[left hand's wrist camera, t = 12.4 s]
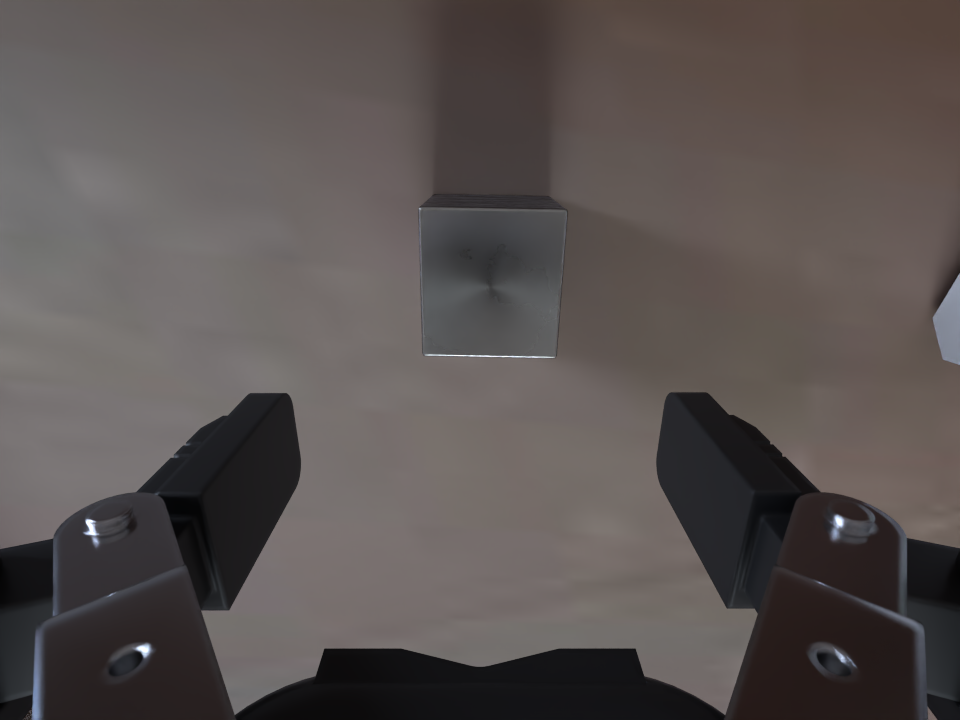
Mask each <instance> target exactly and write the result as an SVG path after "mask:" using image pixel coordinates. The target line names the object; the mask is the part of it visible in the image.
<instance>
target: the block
mask: <svg viewBox="0 0 960 720" xmlns="http://www.w3.org/2000/svg"><path fill="white" fill-rule="evenodd" d="M418 213H419V250H420V286H421V323H422V353H423V355H424V356H452V357H505V358H556V356H557V346H558V333H559V320H560V307H561V294H562V281H563V268H564V255H565V242H566V229H567V216H568V211H567V209H565V208H564V207H563V206H561V205H560V204H559V203H558V202H556V201H555V200H554V199H552V198H551V197H549V196H515V195H459V194H434V195H432V196H431V197H430V198H429V199H428V200H427V201H426V202H424V203H423V204H422V205H421V206H420V207H419V209H418Z"/></svg>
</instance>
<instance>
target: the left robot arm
mask: <svg viewBox="0 0 960 720" xmlns="http://www.w3.org/2000/svg"><path fill="white" fill-rule="evenodd" d="M656 465H657V475H658V479H659V483H660V485H661V487H662V489H663V491H664V493H665V495H666V497H667V499H668V500H669V502H670V504H671V506H672V508H673V510H674V511H675V513H676V515H677V517H678V519H679V521H680V523H681V524H682V526H683V528H684V530H685V532H686V534H687V536H688V537H689V539H690V541H691V543H692V545H693V547H694V548H695V550H696V552H697V554H698V556H699V558H700V560H701V561H702V563H703V565H704V567H705V569H706V571H707V573H708V574H709V576H710V578H711V580H712V582H713V584H714V585H715V587H716V589H717V591H718V593H719V595H720V597H721V598H722V600H723V602H724V604H725V606H726V608H755V610H756V611H757V613H758V615H757V619H756V622H755V625H754V628H753V631H752V634H751V637H750V640H749V643H748V647H747V650H746V653H745V656H744V659H743V662H742V665H741V668H740V672H739V675H738V678H737V681H736V684H735V687H734V690H733V693H732V696H731V700H730V703H729V706H728V709H727V712H726V715H724V714H723V713H721V712H720V711H718V710H717V709H716V708H714V707H713V706H711V705H709V704H708V703H706V702H704V701H702V700H701V699H699V698H697V697H696V696H694V695H692V694H690V693H688V692H685V691H683V690H681V689H679V688H677V687H675V686H672V685H670V684H667V683H664V682H661V681H658V680H656V679H652V678H648V677H645V676H644V674H643V671H642V668H641V665H640V661H639V658H638V655H637V652H636V649H556V650H552V651H548V652H544V653H540V654H535V655H531V656H527V657H523V658H519V659H515V660H511V661H507V662H503V663H499V664H495V665H491V666H486V667H474V666H469V665H465V664H461V663H457V662H453V661H449V660H445V659H441V658H437V657H433V656H429V655H425V654H420V653H416V652H412V651H408V650H404V649H324V652H323V655H322V658H321V661H320V665H319V668H318V671H317V674H316V676H315V677H312V678H308V679H304V680H302V681H299V682H296V683H293V684H290V685H288V686H285V687H283V688H281V689H279V690H277V691H275V692H272V693H270V694H268V695H266V696H264V697H263V698H261V699H259V700H258V701H256V702H254V703H252V704H251V705H249V706H247V707H246V708H244V709H243V710H242V711H240V712H239V713H237V714H236V715H234V712H233V709H232V706H231V703H230V700H229V697H228V693H227V690H226V687H225V684H224V681H223V678H222V675H221V672H220V668H219V665H218V662H217V659H216V656H215V653H214V650H213V647H212V644H211V640H210V637H209V634H208V631H207V628H206V625H205V622H204V619H203V615H202V612H201V610H229V609H230V608H231V606H232V604H233V602H234V600H235V598H236V597H237V595H238V593H239V591H240V589H241V588H242V586H243V584H244V582H245V580H246V578H247V577H248V575H249V573H250V571H251V569H252V567H253V566H254V564H255V562H256V560H257V558H258V556H259V555H260V553H261V551H262V549H263V547H264V545H265V544H266V542H267V540H268V538H269V536H270V535H271V533H272V531H273V529H274V527H275V525H276V524H277V522H278V520H279V518H280V516H281V514H282V513H283V511H284V509H285V507H286V505H287V503H288V502H289V500H290V498H291V496H292V494H293V492H294V491H295V489H296V487H297V484H298V481H299V477H300V471H301V457H300V450H299V443H298V437H297V430H296V423H295V417H294V410H293V404H292V400H291V398H290V396H289V395H288V394H287V393H250V394H248V395H247V396H246V397H245V398H244V399H243V400H242V401H241V402H240V403H239V405H238V406H237V407H236V408H235V409H234V410H233V411H232V412H231V413H230V414H229V415H228V416H222V417H220V418H218V419H217V420H215V421H213V422H211V423H209V424H207V425H206V426H204V427H202V428H200V429H199V430H198V431H197V432H196V433H195V434H194V435H193V436H192V437H191V438H190V439H189V440H188V441H187V442H186V446H182V447H181V448H180V449H179V450H178V451H177V452H176V453H175V454H174V458H170V459H169V460H168V461H167V462H166V463H165V464H164V465H163V466H162V467H161V468H160V469H159V470H158V471H157V472H156V473H155V474H154V475H153V476H152V477H151V478H150V479H149V480H148V481H147V482H146V483H145V484H144V485H143V486H142V487H141V488H140V489H139V490H138V491H137V492H134V493H126V494H121V495H116V496H113V497H109V498H106V499H103V500H100V501H98V502H95V503H93V504H91V505H89V506H87V507H85V508H83V509H81V510H79V511H78V512H76V513H74V514H73V515H72V516H70V517H69V518H68V519H66V520H65V521H64V522H63V523H62V524H61V525H60V527H59V528H58V529H57V530H56V532H55V534H54V538H53V539H50V540H45V541H40V542H34V543H29V544H24V545H19V546H14V547H9V548H4V549H0V720H23V718H24V717H25V715H26V714H27V713H28V711H29V710H30V709H31V707H32V706H33V709H32V720H928V709H927V706H928V707H929V709H930V710H931V711H932V713H933V714H934V716H935V717H936V718H937V720H960V548H955V547H950V546H945V545H940V544H934V543H929V542H924V541H919V540H914V539H909V538H906V534H905V532H904V530H903V529H902V528H901V527H900V525H899V524H898V523H897V522H896V521H895V520H894V519H892V518H891V517H890V516H888V515H887V514H886V513H884V512H882V511H881V510H879V509H877V508H875V507H873V506H871V505H869V504H867V503H865V502H862V501H860V500H857V499H854V498H851V497H847V496H844V495H839V494H834V493H826V492H820V491H819V490H818V489H817V488H816V487H815V486H814V485H813V484H812V483H811V482H810V481H809V480H808V479H807V478H806V477H805V476H804V475H803V474H802V473H801V472H800V471H799V470H798V469H797V468H796V467H795V466H794V465H793V464H792V463H791V462H790V461H789V460H788V459H787V458H786V457H782V453H781V452H780V451H779V450H778V449H777V448H776V447H775V446H774V445H773V444H770V441H769V440H768V439H767V438H766V437H765V436H764V435H763V434H762V433H761V432H760V431H759V430H758V429H757V428H756V427H754V426H753V425H751V424H749V423H747V422H745V421H744V420H742V419H740V418H738V417H736V416H734V415H728V414H727V412H726V411H725V410H724V409H723V408H722V407H721V406H720V405H719V404H718V403H717V402H716V401H715V400H714V399H713V398H712V397H711V396H710V395H709V394H708V393H706V392H671V393H669V394H668V395H667V397H666V400H665V404H664V410H663V417H662V424H661V431H660V438H659V444H658V451H657V461H656Z"/></svg>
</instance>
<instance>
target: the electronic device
mask: <svg viewBox="0 0 960 720" xmlns="http://www.w3.org/2000/svg"><path fill="white" fill-rule="evenodd" d="M932 319H933V323H934V327H935V331H936V335H937V339H938V342H939V346H940V350H941V354H942V358H943V360H946V361H949V362H952V363H955V364H958V365H960V274H959V275H958V277H957V279H956V280H955V282H954V284H953V285H952V287H951V289H950V290H949V292H948V293H947V295H946V297H945V298H944V300H943V302H942V303H941V305H940V307H939V308H938V310H937V312H936V313H935V315H934V317H933V318H932Z"/></svg>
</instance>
